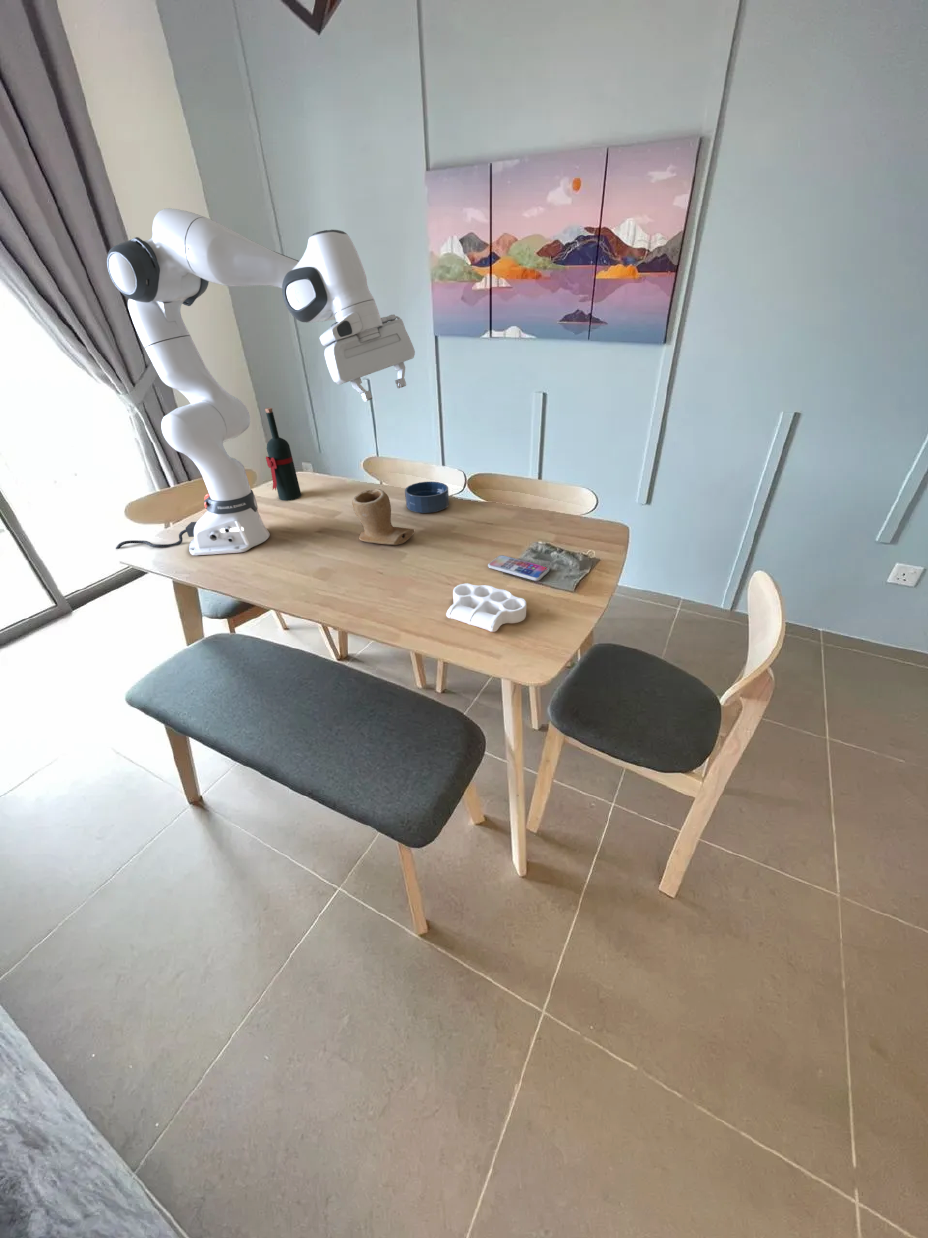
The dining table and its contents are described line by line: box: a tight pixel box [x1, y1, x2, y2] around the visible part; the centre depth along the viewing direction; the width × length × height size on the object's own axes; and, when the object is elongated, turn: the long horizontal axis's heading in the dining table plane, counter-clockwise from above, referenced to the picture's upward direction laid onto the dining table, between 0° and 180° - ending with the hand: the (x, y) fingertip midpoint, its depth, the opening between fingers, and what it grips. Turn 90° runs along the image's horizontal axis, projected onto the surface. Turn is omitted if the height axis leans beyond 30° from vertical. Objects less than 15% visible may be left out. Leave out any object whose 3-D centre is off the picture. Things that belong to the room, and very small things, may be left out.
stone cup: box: [351, 488, 415, 546], centre depth 140 cm, size 15×12×15 cm
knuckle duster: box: [445, 582, 527, 633], centre depth 111 cm, size 3×18×15 cm
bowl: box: [404, 481, 450, 514], centre depth 164 cm, size 14×14×6 cm
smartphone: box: [487, 554, 550, 582], centre depth 127 cm, size 7×1×15 cm
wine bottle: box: [264, 407, 302, 502], centre depth 168 cm, size 8×10×30 cm
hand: (385, 393), depth 108 cm, fingers open, 8 cm apart
